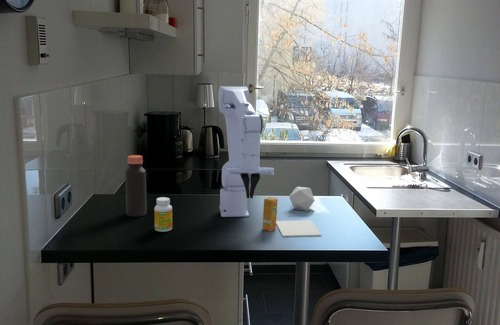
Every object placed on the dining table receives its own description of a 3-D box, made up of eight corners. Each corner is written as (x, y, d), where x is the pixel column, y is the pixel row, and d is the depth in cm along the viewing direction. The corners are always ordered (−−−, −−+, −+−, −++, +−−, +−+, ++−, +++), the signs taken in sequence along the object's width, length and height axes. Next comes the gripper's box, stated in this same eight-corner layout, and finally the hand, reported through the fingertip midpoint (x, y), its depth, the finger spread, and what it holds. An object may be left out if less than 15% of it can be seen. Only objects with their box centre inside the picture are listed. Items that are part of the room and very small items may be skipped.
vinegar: (132, 218, 164) (130, 159, 160) (122, 213, 169) (120, 156, 165) (150, 214, 168) (149, 156, 164) (140, 210, 173) (139, 153, 169)
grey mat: (282, 236, 149) (282, 235, 149) (275, 222, 163) (275, 220, 163) (321, 235, 151) (321, 234, 151) (311, 221, 164) (311, 220, 164)
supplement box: (271, 231, 154) (272, 200, 152) (262, 229, 155) (262, 198, 153) (276, 228, 156) (277, 198, 154) (267, 226, 158) (268, 196, 156)
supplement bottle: (157, 232, 151) (157, 202, 149) (152, 227, 155) (152, 197, 153) (174, 230, 153) (174, 200, 151) (169, 225, 158) (168, 195, 156)
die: (317, 209, 181) (307, 185, 184) (318, 203, 173) (307, 179, 176) (296, 217, 181) (286, 193, 184) (296, 212, 172) (286, 187, 176)
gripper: (227, 156, 146) (227, 201, 148) (276, 156, 147) (274, 200, 150) (225, 152, 153) (225, 195, 155) (272, 152, 154) (271, 194, 157)
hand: (249, 197), depth 153 cm, fingers closed
